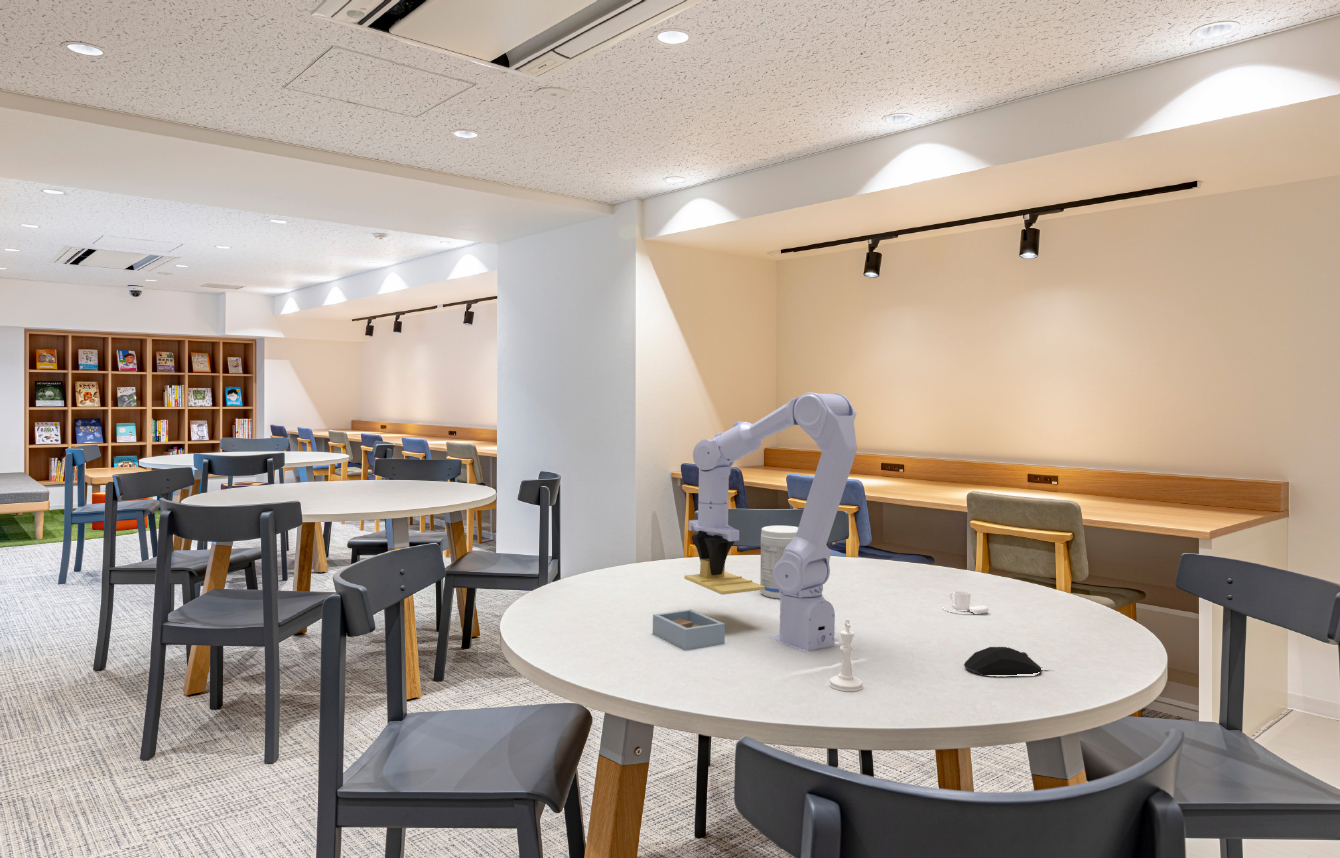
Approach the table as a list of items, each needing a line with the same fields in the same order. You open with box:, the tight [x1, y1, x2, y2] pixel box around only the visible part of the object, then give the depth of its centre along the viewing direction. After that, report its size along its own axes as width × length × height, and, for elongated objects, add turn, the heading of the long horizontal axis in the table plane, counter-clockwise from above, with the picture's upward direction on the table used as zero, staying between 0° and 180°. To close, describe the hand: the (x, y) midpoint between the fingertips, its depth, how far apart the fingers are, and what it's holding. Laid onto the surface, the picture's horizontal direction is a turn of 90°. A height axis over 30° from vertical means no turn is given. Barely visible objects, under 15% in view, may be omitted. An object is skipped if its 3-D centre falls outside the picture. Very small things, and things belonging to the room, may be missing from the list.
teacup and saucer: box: [941, 590, 990, 615], centre depth 166 cm, size 9×8×4 cm
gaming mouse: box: [963, 646, 1042, 676], centre depth 128 cm, size 6×15×4 cm, turn 93°
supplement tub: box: [759, 525, 799, 600], centre depth 177 cm, size 10×10×15 cm
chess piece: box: [828, 618, 864, 693], centre depth 120 cm, size 5×5×10 cm
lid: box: [683, 558, 765, 596], centre depth 151 cm, size 13×10×4 cm
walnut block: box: [673, 619, 692, 628], centre depth 141 cm, size 3×3×3 cm
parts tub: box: [652, 609, 726, 651], centre depth 141 cm, size 11×8×4 cm
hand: (712, 573), depth 154 cm, fingers closed on lid, 2 cm apart
